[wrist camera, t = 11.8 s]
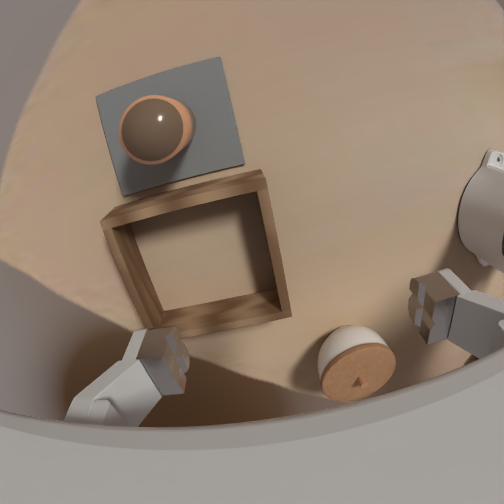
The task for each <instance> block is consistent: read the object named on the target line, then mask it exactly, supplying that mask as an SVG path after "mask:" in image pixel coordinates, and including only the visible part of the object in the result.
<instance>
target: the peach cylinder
mask: <svg viewBox="0 0 504 504" xmlns="http://www.w3.org/2000/svg"><path fill="white" fill-rule="evenodd" d="M195 131H196V119H195V116H194V114H193V112H192V110H191V109H190V108H189V106H187V105H186V104H185V103H183V102H181V101H179V100H176V99H172V98H168V97H165V96H160V95H149V96H145V97H142V98H139V99H138V100H136V101H134V102H133V103H132V104H131V105H130V106H128V108H127V109H126V110H125V112H124V113H123V115H122V117H121V120H120V123H119V130H118V133H119V140H120V143H121V146H122V148H123V149H124V151H125V152H126V153H127V155H128V156H129V157H131V158H132V159H133V160H135V161H137V162H139V163H143V164H149V165H153V164H159V163H163V162H165V161H167V160H169V159H170V158H172V157H173V156H175V155H176V154H177V153H179V152H180V151H181V150H183V149H184V148H185V147H187V146H188V145H189V143H190V142H191V141H192V139H193V137H194V135H195Z"/></svg>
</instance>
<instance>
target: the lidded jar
mask: <svg viewBox="0 0 504 504" xmlns="http://www.w3.org/2000/svg"><path fill="white" fill-rule="evenodd" d="M395 366H396V358H395V356H394V354H393V352H392V350H391V349H390V348H389V347H388V345H387V344H386V342H385V341H384V340H383V339H382V337H381V336H380V335H379V334H378V333H376V332H375V331H374V330H372V329H370V328H368V327H365V326H360V325H346V326H342V327H339V328H337V329H336V330H334V331H333V332H332V333H331V334H330V335H329V336H328V337H327V339H326V340H325V341H324V343H323V344H322V346H321V348H320V351H319V355H318V373H319V377H320V383H321V387H322V390H323V392H324V394H325V395H326V396H327V397H329V398H331V399H333V400H336V401H353V400H357V399H360V398H363V397H366V396H368V395H370V394H372V393H374V392H375V391H377V390H378V389H380V388H381V387H382V386H383V385H384V384H385V383H386V382H387V381H388V380H389V379H390V377H391V376H392V374H393V372H394V370H395Z"/></svg>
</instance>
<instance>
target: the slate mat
mask: <svg viewBox="0 0 504 504" xmlns="http://www.w3.org/2000/svg"><path fill="white" fill-rule="evenodd" d="M149 95H160V96H165V97H168V98H172V99H176V100H179V101H181V102H183V103H185V104H186V105H187V106H189V108H190V109H191V110H192V112H193V114H194V116H195V119H196V131H195V135H194V137H193V139H192V141H191V142H190V143H189V145H188V146H187V147H185V148H184V149H183V150H181V151H180V152H179V153H177V154H176V155H175V156H173V157H172V158H170V159H169V160H167V161H165V162H163V163H159V164H153V165H149V164H143V163H139V162H137V161H135V160H133V159H132V158H131V157H129V156H128V155H127V153H126V152H125V151H124V149H123V148H122V146H121V143H120V140H119V133H118V130H119V123H120V120H121V117H122V115H123V113H124V112H125V110H126V109H127V108H128V106H130V105H131V104H132V103H133V102H134V101H136V100H138V99H139V98H142V97H145V96H149ZM96 100H97V104H98V108H99V112H100V116H101V120H102V124H103V128H104V132H105V136H106V140H107V143H108V147H109V151H110V154H111V158H112V161H113V164H114V168H115V171H116V175H117V178H118V181H119V184H120V187H121V191H122V194H123V196H125V195H128V194H132V193H135V192H138V191H142V190H145V189H149V188H152V187H155V186H159V185H162V184H166V183H170V182H173V181H177V180H181V179H184V178H188V177H192V176H196V175H200V174H204V173H208V172H212V171H216V170H220V169H225V168H229V167H233V166H238V165H242V164H245V162H244V157H243V153H242V148H241V144H240V140H239V135H238V131H237V126H236V122H235V118H234V113H233V109H232V105H231V100H230V96H229V92H228V87H227V83H226V79H225V75H224V70H223V66H222V62H221V58H220V57H216V58H212V59H208V60H203V61H199V62H196V63H192V64H188V65H184V66H181V67H177V68H174V69H170V70H167V71H164V72H161V73H157V74H154V75H151V76H148V77H145V78H142V79H140V80H137V81H134V82H131V83H128V84H126V85H123V86H120V87H118V88H115V89H113V90H110V91H108V92H105V93H103V94H100V95H98V96H96Z"/></svg>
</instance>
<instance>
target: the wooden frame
mask: <svg viewBox="0 0 504 504" xmlns="http://www.w3.org/2000/svg"><path fill="white" fill-rule="evenodd" d="M255 191H256V194H257V199H258V204H259V208H260V213H261V218H262V222H263V227H264V232H265V237H266V241H267V246H268V251H269V256H270V260H271V265H272V270H273V275H274V280H275V285H276V289H272V290H267V291H263V292H258V293H253V294H249V295H244V296H239V297H234V298H230V299H225V300H220V301H215V302H210V303H205V304H200V305H195V306H190V307H184V308H179V309H174V310H168V311H164V310H163V308H162V306H161V303H160V301H159V299H158V296H157V294H156V291H155V289H154V287H153V284H152V282H151V279H150V277H149V274H148V272H147V269H146V267H145V264H144V262H143V259H142V256H141V254H140V251H139V249H138V246H137V243H136V240H135V238H134V235H133V232H132V229H131V227H130V224H129V223H131V222H134V221H138V220H142V219H145V218H149V217H153V216H156V215H160V214H164V213H168V212H172V211H175V210H179V209H183V208H187V207H191V206H195V205H199V204H203V203H208V202H212V201H216V200H220V199H224V198H229V197H233V196H237V195H242V194H246V193H251V192H255ZM100 224H101V227H102V229H103V232H104V234H105V237H106V240H107V242H108V245H109V247H110V250H111V252H112V255H113V257H114V260H115V262H116V265H117V267H118V269H119V272H120V274H121V276H122V279H123V281H124V283H125V285H126V288H127V290H128V292H129V294H130V297H131V299H132V301H133V303H134V305H135V307H136V309H137V311H138V314H139V316H140V318H141V320H142V322H143V324H144V326H145V328H146V329H149V328H157V327H166V326H176V327H177V328H178V330H179V332H180V334H181V335H180V338H186V337H192V336H198V335H203V334H209V333H215V332H220V331H225V330H231V329H236V328H241V327H246V326H251V325H256V324H260V323H265V322H270V321H274V320H279V319H283V318H288V317H292V313H291V308H290V302H289V297H288V291H287V286H286V280H285V275H284V269H283V264H282V259H281V254H280V248H279V243H278V238H277V233H276V228H275V223H274V218H273V212H272V207H271V203H270V198H269V193H268V188H267V183H266V178H265V177H264V175H263V173H262V171H261V169H260V170H255V171H250V172H246V173H241V174H237V175H233V176H228V177H224V178H220V179H216V180H211V181H207V182H203V183H199V184H195V185H191V186H188V187H184V188H180V189H176V190H172V191H169V192H165V193H161V194H158V195H154V196H151V197H147V198H144V199H140V200H137V201H134V202H130V203H127V204H124V205H120V206H117V207H115V208H114V209H113V210H112V211H111V212H109V213H108V214H107V215H106V216H105V217H104V218H103V219H102V220H101V221H100Z"/></svg>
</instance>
